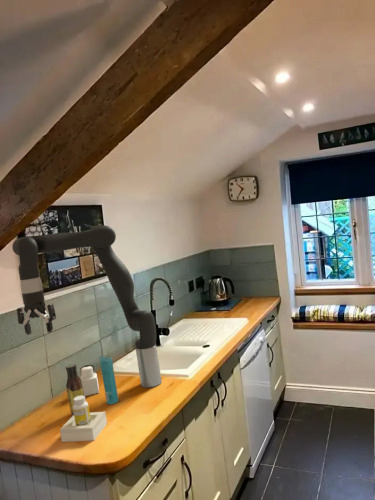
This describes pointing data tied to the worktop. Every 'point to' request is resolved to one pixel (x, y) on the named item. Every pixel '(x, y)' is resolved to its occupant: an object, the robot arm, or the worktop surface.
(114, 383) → the tube
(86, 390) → the medicine bottle
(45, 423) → the worktop surface
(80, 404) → the supplement bottle
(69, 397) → the sauce bottle
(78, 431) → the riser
